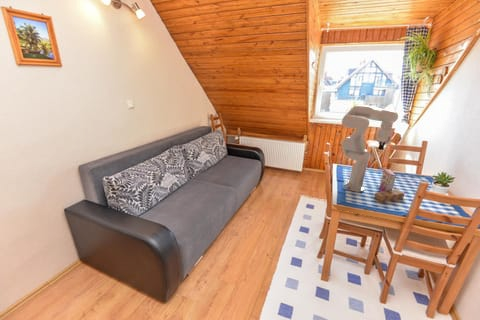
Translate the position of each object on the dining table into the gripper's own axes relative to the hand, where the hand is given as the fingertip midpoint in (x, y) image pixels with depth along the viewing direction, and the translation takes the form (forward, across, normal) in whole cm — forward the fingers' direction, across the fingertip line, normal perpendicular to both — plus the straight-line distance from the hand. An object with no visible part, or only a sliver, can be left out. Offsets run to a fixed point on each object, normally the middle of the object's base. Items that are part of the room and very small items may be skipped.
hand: (380, 149), depth 178 cm
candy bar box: (+27, +20, -7) cm, 35 cm away
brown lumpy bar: (+28, +30, -12) cm, 42 cm away
